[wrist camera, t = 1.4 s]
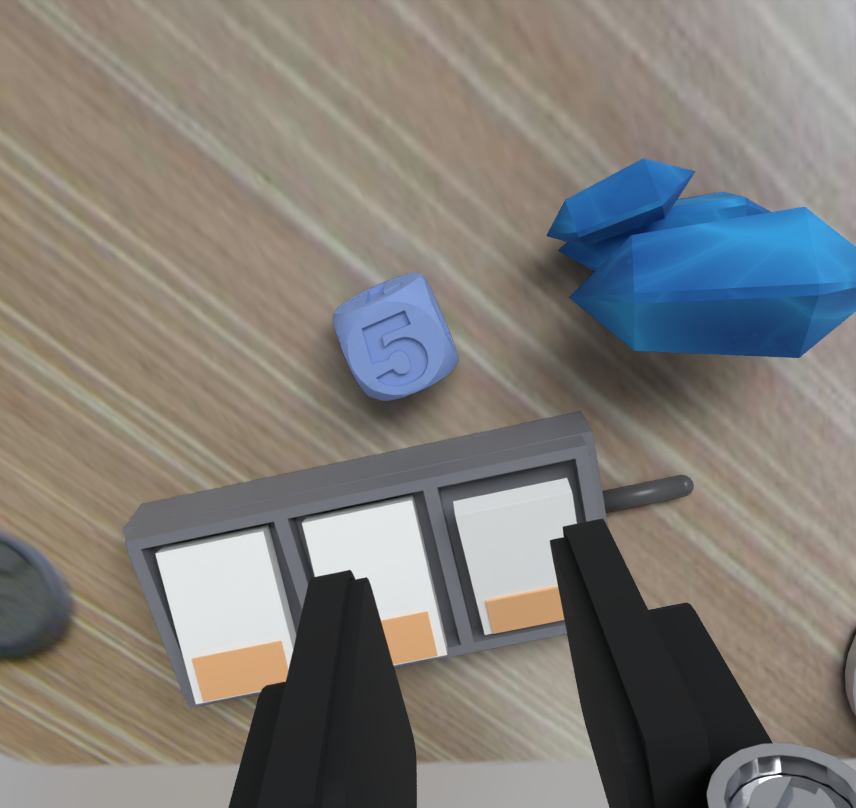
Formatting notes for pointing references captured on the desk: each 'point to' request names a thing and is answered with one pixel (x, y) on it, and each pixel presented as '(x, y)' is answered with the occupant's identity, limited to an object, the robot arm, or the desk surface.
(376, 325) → the decorative dice
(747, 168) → the desk surface
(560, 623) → the strip
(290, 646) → the rocker
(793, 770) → the robot arm
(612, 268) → the crystal
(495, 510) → the rocker
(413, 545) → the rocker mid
